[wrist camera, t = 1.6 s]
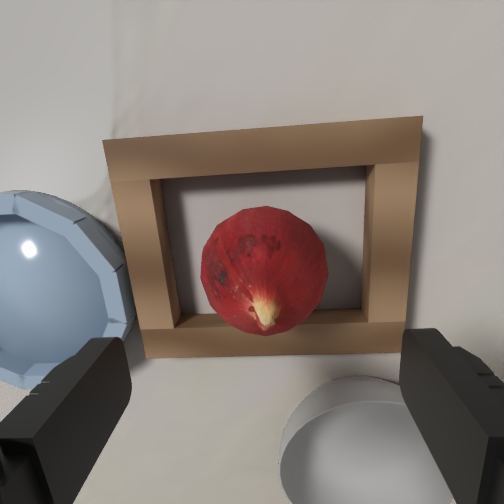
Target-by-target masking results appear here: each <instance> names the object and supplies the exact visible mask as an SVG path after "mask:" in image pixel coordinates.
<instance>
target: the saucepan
mask: <svg viewBox="0 0 504 504" xmlns="http://www.w3.org/2000/svg"><path fill="white" fill-rule="evenodd" d="M279 480H280V484H281V488H282V490H283V492H284V494H285V496H286V498H287V499H288V500H289V502H290V503H291V504H449V503H450V502H451V500H452V499H453V498H454V497H453V495H452V493H451V492H450V490H449V488H448V486H447V484H446V482H445V480H444V478H443V476H442V474H441V472H440V470H439V468H438V466H437V464H436V462H435V460H434V458H433V457H432V455H431V453H430V451H429V449H428V447H427V445H426V443H425V441H424V439H423V437H422V435H421V433H420V431H419V429H418V427H417V425H416V423H415V421H414V420H413V418H412V416H411V414H410V412H409V410H408V408H407V406H406V404H405V402H404V400H403V397H402V394H401V389H400V385H397V384H394V383H391V382H389V381H386V380H382V379H379V378H374V377H368V376H352V377H344V378H340V379H336V380H332V381H330V382H328V383H326V384H323V385H321V386H320V387H318V388H317V389H315V390H314V391H312V392H311V393H310V394H309V395H308V396H307V397H306V398H305V399H304V400H303V401H302V402H301V403H300V404H299V405H298V407H297V408H296V409H295V411H294V412H293V413H292V415H291V417H290V418H289V420H288V422H287V424H286V426H285V428H284V430H283V434H282V438H281V443H280V450H279Z"/></svg>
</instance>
